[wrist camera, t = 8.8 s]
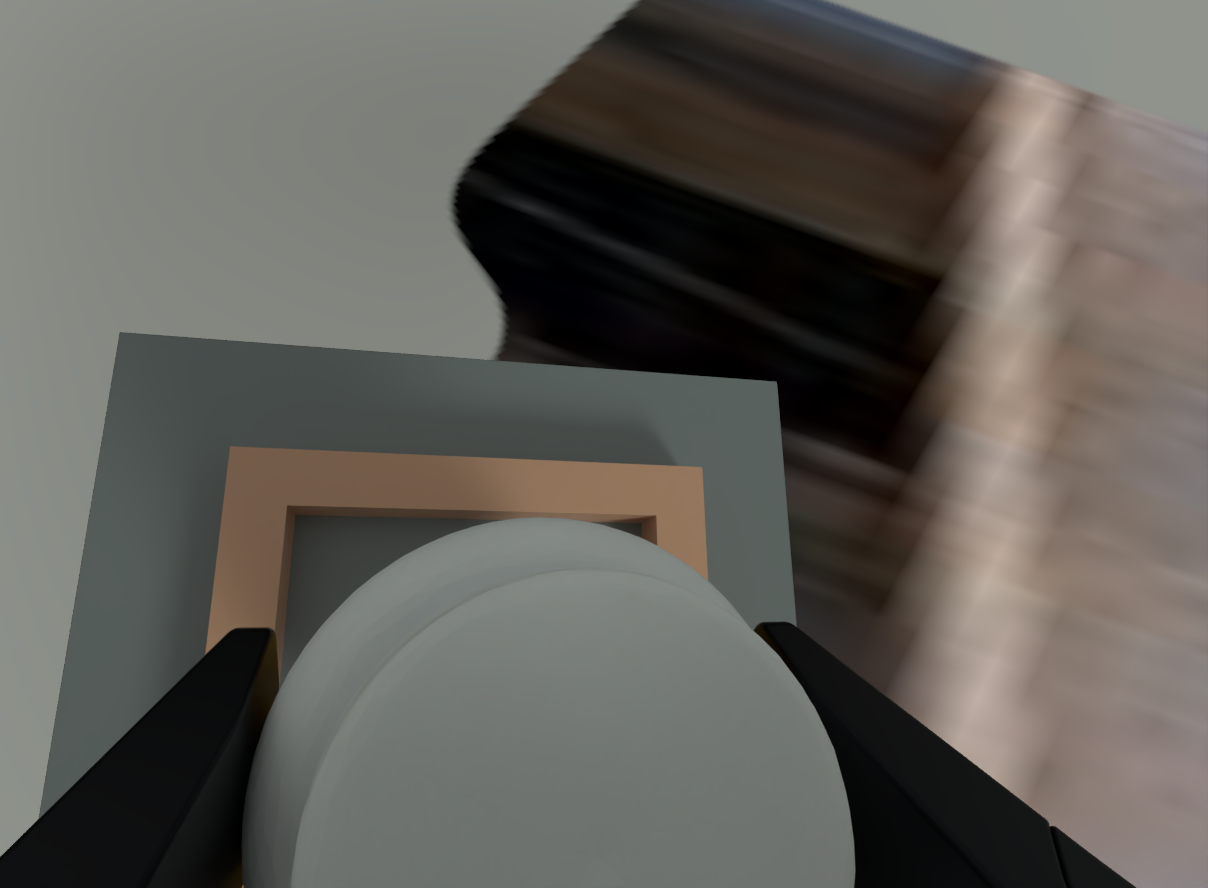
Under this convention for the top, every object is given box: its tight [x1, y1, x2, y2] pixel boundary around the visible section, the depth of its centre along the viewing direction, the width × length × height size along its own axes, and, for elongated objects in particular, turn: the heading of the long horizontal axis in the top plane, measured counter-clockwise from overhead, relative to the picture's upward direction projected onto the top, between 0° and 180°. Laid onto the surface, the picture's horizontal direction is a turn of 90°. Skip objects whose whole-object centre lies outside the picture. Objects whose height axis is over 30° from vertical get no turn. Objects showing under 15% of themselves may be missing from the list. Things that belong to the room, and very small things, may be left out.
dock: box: [39, 332, 797, 888], centre depth 16 cm, size 16×16×2 cm
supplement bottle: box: [241, 517, 855, 888], centre depth 10 cm, size 6×6×10 cm
